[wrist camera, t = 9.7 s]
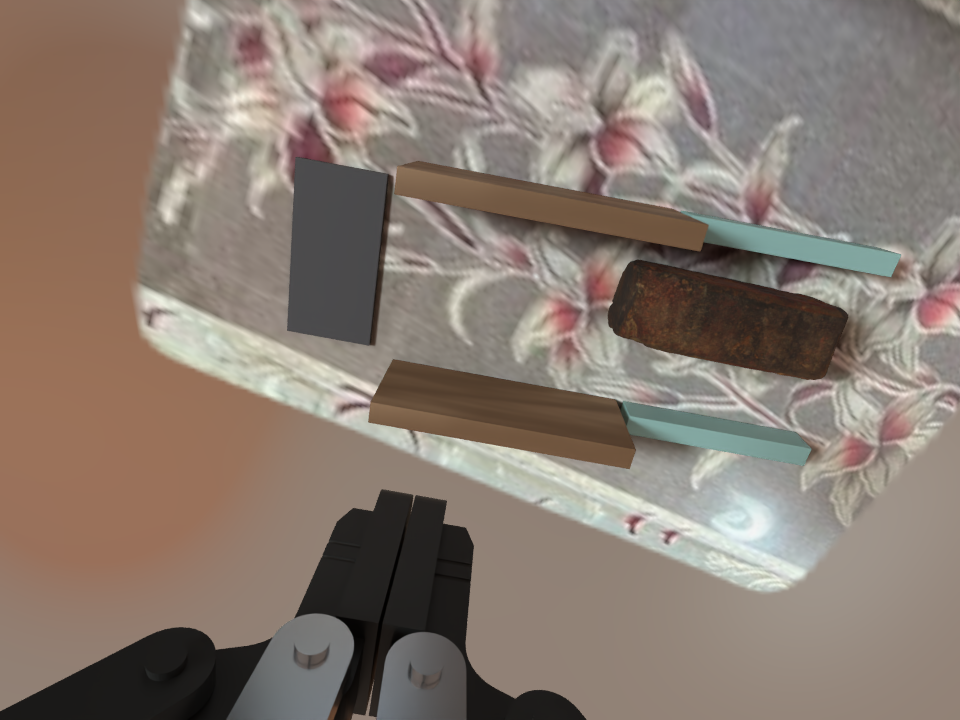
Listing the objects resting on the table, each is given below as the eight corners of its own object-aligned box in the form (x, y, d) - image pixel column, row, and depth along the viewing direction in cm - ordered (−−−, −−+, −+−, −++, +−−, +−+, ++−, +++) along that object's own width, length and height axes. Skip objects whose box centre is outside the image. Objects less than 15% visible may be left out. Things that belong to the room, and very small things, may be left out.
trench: (418, 160, 30) (397, 166, 24) (672, 208, 30) (708, 224, 25) (390, 376, 35) (368, 422, 29) (610, 416, 35) (629, 469, 30)
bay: (681, 210, 30) (692, 215, 28) (877, 247, 31) (901, 254, 29) (618, 418, 35) (624, 433, 33) (788, 448, 35) (803, 466, 34)
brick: (801, 291, 32) (856, 310, 27) (776, 357, 33) (824, 386, 28) (621, 253, 31) (648, 266, 26) (602, 322, 32) (624, 346, 27)
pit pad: (297, 156, 30) (295, 157, 30) (388, 174, 30) (387, 174, 30) (289, 328, 34) (287, 330, 34) (370, 343, 34) (369, 345, 34)
